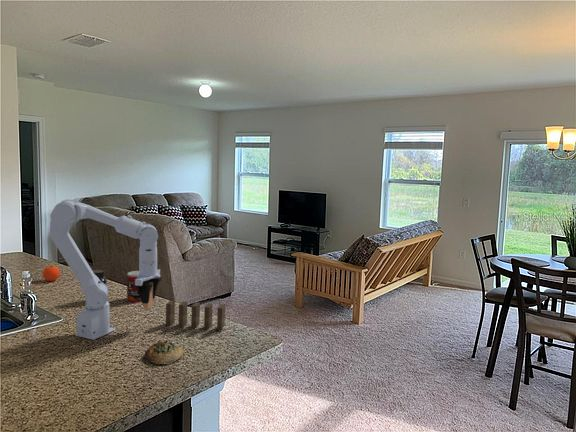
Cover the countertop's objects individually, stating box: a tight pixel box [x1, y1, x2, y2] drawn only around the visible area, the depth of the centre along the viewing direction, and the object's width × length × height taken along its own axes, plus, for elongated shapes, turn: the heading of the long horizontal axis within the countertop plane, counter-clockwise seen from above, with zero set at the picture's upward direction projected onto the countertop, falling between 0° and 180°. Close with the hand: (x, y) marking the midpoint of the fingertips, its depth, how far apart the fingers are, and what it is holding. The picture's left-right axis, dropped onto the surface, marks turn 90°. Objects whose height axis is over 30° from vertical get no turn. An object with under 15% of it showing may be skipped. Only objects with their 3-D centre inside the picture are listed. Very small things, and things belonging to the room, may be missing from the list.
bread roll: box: [144, 339, 185, 365], centre depth 125 cm, size 11×11×5 cm
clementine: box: [42, 265, 61, 282], centre depth 196 cm, size 8×7×7 cm
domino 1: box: [142, 282, 154, 310], centre depth 144 cm, size 2×4×8 cm, turn 173°
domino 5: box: [203, 303, 213, 330], centre depth 148 cm, size 2×4×8 cm, turn 174°
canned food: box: [126, 270, 142, 303], centre depth 175 cm, size 8×8×11 cm
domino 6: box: [216, 304, 226, 331], centre depth 147 cm, size 2×4×8 cm, turn 174°
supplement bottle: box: [92, 269, 108, 286], centre depth 170 cm, size 7×7×12 cm
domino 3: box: [178, 300, 188, 328], centre depth 149 cm, size 2×4×8 cm, turn 174°
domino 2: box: [165, 299, 176, 327], centre depth 149 cm, size 2×4×8 cm, turn 174°
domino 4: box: [190, 301, 201, 329], centre depth 148 cm, size 2×4×8 cm, turn 174°
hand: (148, 300), depth 145 cm, fingers closed on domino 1, 4 cm apart
